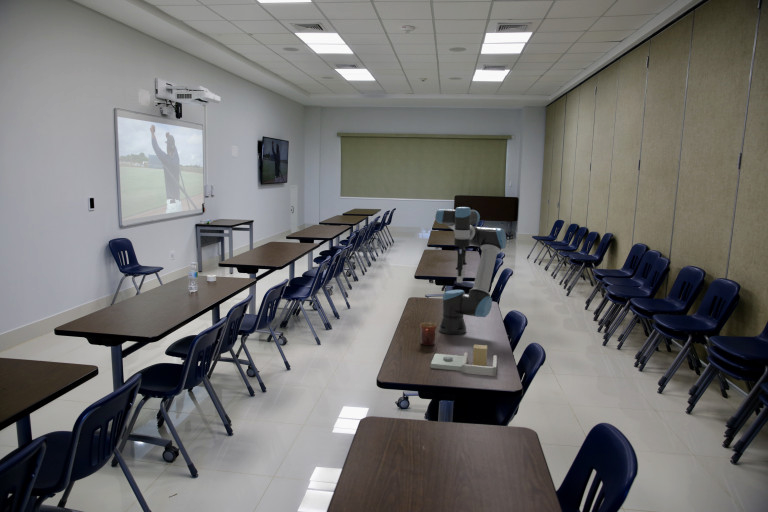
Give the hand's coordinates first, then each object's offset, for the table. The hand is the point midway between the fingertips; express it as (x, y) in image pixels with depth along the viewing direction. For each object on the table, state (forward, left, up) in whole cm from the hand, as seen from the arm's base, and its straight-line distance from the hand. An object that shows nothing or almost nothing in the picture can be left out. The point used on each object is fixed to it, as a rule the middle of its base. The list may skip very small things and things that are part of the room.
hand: (460, 280), depth 254 cm
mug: (+2, -16, -35) cm, 38 cm away
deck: (+28, +5, -35) cm, 45 cm away
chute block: (+25, +12, -35) cm, 44 cm away
